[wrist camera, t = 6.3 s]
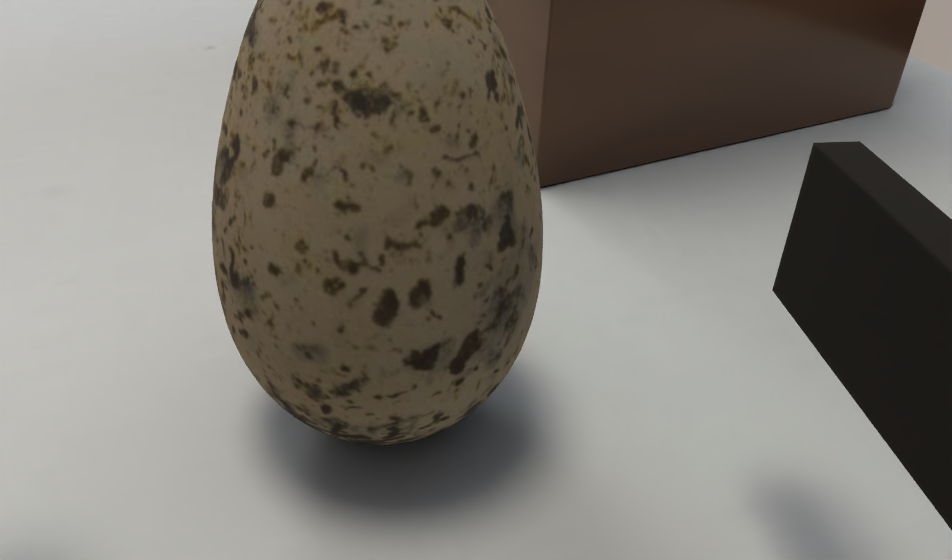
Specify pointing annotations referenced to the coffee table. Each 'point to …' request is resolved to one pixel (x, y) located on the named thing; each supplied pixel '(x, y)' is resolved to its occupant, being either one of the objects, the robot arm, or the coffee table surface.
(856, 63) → the plinth
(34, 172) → the coffee table surface
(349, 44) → the decorative egg
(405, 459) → the coffee table surface
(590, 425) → the coffee table surface
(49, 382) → the coffee table surface
